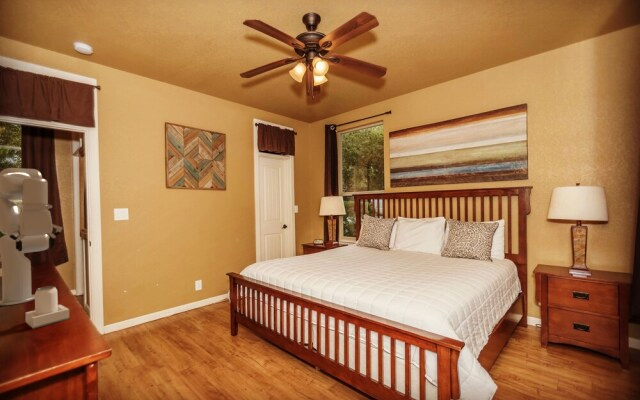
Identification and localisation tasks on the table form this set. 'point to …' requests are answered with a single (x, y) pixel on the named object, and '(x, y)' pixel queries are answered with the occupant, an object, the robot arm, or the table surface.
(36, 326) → the dock socket
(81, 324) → the table surface
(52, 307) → the can
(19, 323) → the table surface
